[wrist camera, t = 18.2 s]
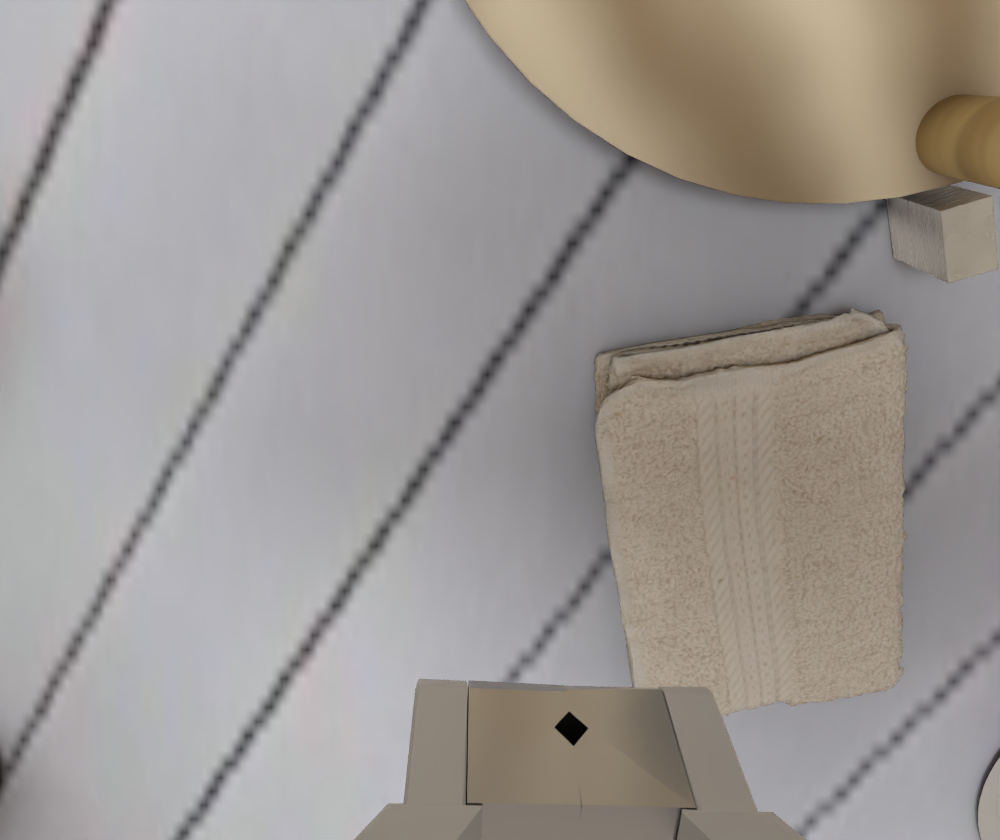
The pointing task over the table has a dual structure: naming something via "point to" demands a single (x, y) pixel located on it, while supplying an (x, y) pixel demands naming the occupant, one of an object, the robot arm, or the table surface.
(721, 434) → the washcloth
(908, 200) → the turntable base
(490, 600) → the table surface
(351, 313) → the table surface
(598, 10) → the turntable
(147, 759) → the table surface
